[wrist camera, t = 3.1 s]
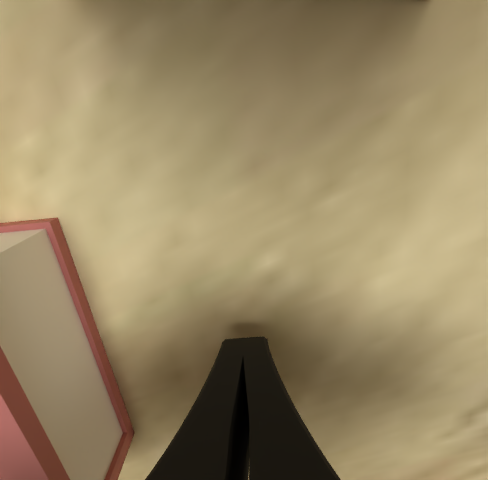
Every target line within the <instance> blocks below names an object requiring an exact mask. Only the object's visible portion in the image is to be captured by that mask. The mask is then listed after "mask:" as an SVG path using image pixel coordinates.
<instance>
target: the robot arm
mask: <svg viewBox="0 0 488 480" xmlns="http://www.w3.org/2000/svg"><path fill="white" fill-rule="evenodd" d="M249 457H250V460H249ZM248 474H249V480H340V478H339V477H338V475H337V474H336V472H335V471H334V469H333V468H332V467H331V465H330V464H329V462H328V461H327V459H326V458H325V456H324V455H323V453H322V451H321V450H320V448H319V447H318V445H317V444H316V442H315V441H314V439H313V437H312V436H311V434H310V432H309V431H308V429H307V427H306V426H305V424H304V422H303V420H302V419H301V417H300V415H299V413H298V412H297V410H296V408H295V406H294V404H293V402H292V400H291V399H290V397H289V395H288V393H287V391H286V388H285V386H284V384H283V382H282V380H281V378H280V376H279V374H278V371H277V369H276V366H275V364H274V361H273V359H272V356H271V353H270V350H269V346H268V341H267V339H266V338H265V337H250V338H237V339H225V340H224V341H223V342H222V345H221V348H220V351H219V353H218V356H217V358H216V360H215V363H214V365H213V367H212V369H211V372H210V374H209V376H208V378H207V380H206V382H205V384H204V386H203V388H202V390H201V392H200V393H199V395H198V397H197V399H196V401H195V403H194V405H193V406H192V408H191V410H190V411H189V413H188V415H187V417H186V418H185V420H184V422H183V424H182V425H181V427H180V429H179V430H178V432H177V433H176V435H175V437H174V438H173V440H172V441H171V443H170V444H169V446H168V448H167V449H166V451H165V452H164V454H163V455H162V456H161V458H160V459H159V461H158V462H157V464H156V465H155V467H154V468H153V470H152V471H151V472H150V474H149V475H148V476H147V478H146V479H145V480H248Z"/></svg>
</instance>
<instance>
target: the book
mask: <svg viewBox="0 0 488 480" xmlns="http://www.w3.org/2000/svg"><path fill="white" fill-rule="evenodd" d="M133 435H134V430H133V428H132V425H131V422H130V419H129V416H128V413H127V411H126V408H125V405H124V402H123V399H122V397H121V394H120V391H119V388H118V385H117V383H116V380H115V377H114V374H113V371H112V369H111V366H110V363H109V360H108V357H107V355H106V352H105V349H104V346H103V343H102V341H101V338H100V335H99V332H98V329H97V327H96V324H95V321H94V318H93V315H92V312H91V310H90V307H89V304H88V301H87V298H86V296H85V293H84V290H83V287H82V284H81V282H80V279H79V276H78V273H77V270H76V268H75V265H74V262H73V259H72V256H71V254H70V251H69V248H68V245H67V242H66V240H65V237H64V234H63V231H62V228H61V226H60V223H59V220H58V218H49V219H39V220H28V221H18V222H8V223H0V480H118V477H119V474H120V471H121V469H122V466H123V463H124V460H125V458H126V455H127V452H128V449H129V447H130V444H131V441H132V438H133Z"/></svg>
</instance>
